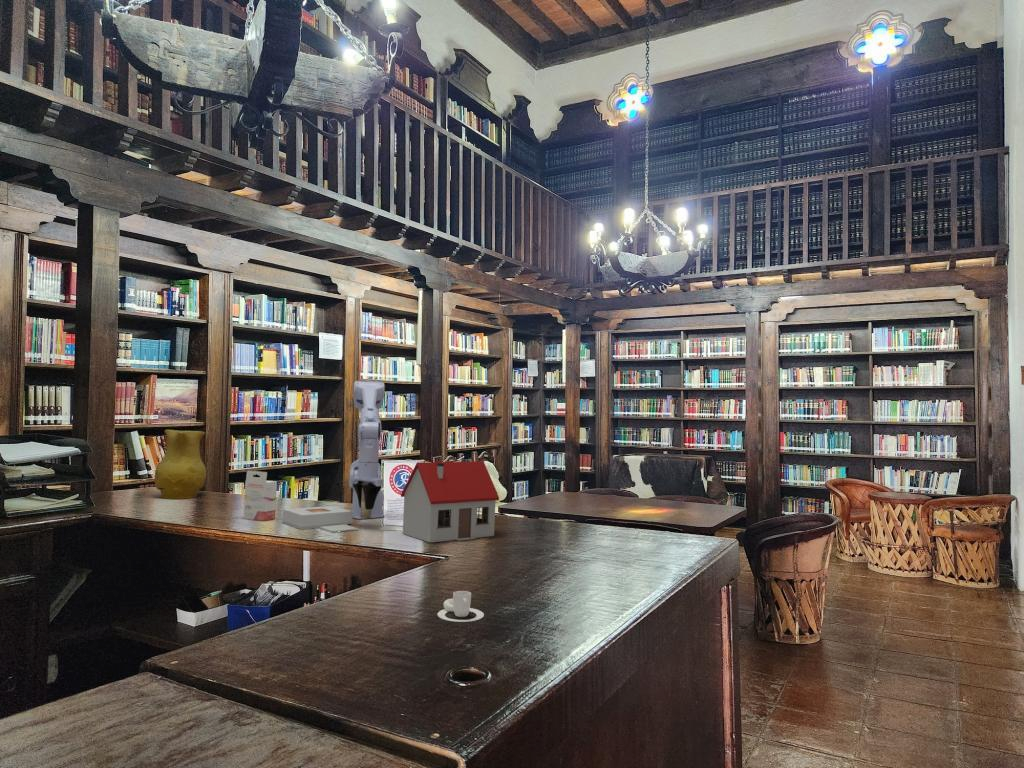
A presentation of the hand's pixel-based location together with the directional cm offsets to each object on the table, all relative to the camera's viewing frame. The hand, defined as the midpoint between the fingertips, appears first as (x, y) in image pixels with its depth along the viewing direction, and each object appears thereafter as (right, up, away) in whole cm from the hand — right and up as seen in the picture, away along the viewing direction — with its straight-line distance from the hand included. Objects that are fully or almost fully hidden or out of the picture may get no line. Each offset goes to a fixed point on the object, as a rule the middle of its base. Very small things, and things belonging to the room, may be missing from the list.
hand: (366, 508), depth 193 cm
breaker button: (-15, -3, +3) cm, 16 cm away
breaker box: (-15, -5, +3) cm, 16 cm away
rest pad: (-7, -5, -5) cm, 10 cm away
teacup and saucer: (+36, -4, -78) cm, 86 cm away
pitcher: (-80, -5, +50) cm, 95 cm away
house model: (+25, -7, -8) cm, 27 cm away
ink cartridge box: (-34, -5, +8) cm, 36 cm away
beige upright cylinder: (0, -3, 0) cm, 3 cm away
